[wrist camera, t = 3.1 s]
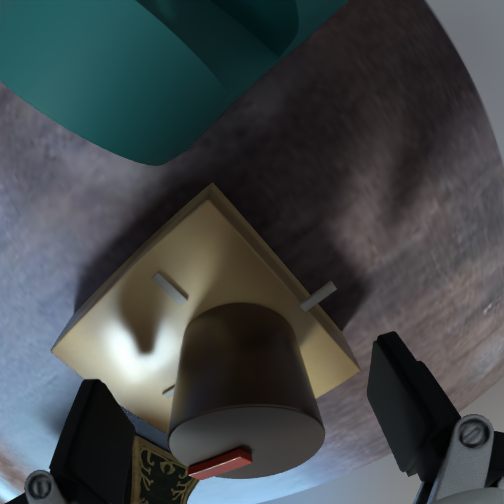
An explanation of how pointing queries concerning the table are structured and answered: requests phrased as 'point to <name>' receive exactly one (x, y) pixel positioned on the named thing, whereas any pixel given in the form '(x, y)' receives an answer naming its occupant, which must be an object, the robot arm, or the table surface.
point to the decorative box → (156, 476)
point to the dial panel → (192, 307)
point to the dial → (242, 396)
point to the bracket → (146, 63)
